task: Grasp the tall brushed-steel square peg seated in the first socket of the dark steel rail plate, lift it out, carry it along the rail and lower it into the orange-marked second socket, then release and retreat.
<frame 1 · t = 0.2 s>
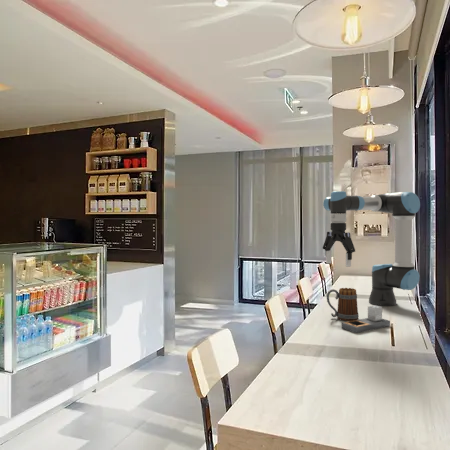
hand: (338, 265, 200), 28 cm above the counter, fingers open, 13 cm apart
mug: (342, 319, 203), on the counter
steel peg: (374, 325, 191), resting in rail plate
rail plate: (365, 327, 188), on the counter
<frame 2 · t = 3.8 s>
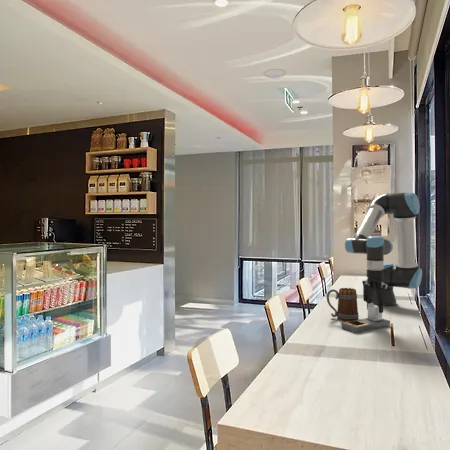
hand: (374, 317, 191), 4 cm above the counter, fingers closed on steel peg, 4 cm apart
steel peg: (374, 325, 191), resting in rail plate, touching gripper
everything else where it was.
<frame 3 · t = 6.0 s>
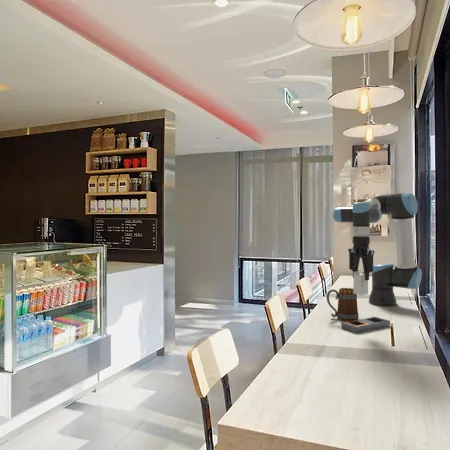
hand: (360, 286, 185), 20 cm above the counter, fingers closed on steel peg, 4 cm apart
steel peg: (360, 293, 185), point 16 cm above the counter, touching gripper
everything else where it was.
when the fingers open (5 cm above the counter, at t = 8.6 s): steel peg drops 1 cm, resting in rail plate.
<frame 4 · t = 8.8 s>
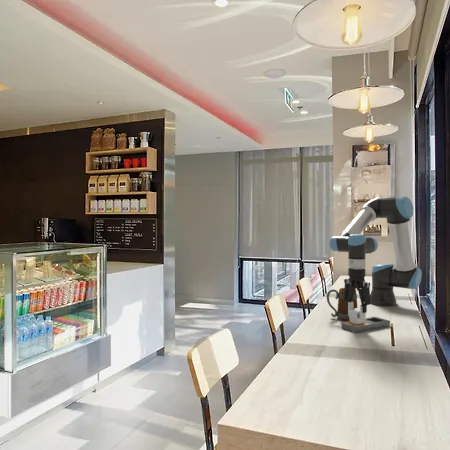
hand: (356, 317, 185), 5 cm above the counter, fingers open, 7 cm apart
steel peg: (356, 329, 185), resting in rail plate
everything else where it was.
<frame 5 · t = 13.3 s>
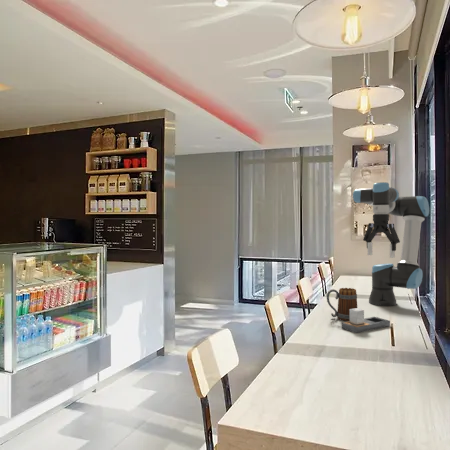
hand: (380, 256, 200), 32 cm above the counter, fingers open, 13 cm apart
nothing on the counter moved.
at the end: steel peg 0.1 cm from the target spot on the rail plate, point 0.0 cm above the rail plate's base; steel peg tilted 0°; the gripper is holding nothing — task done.
